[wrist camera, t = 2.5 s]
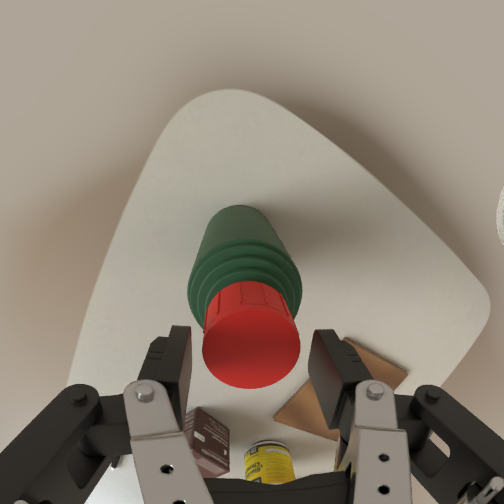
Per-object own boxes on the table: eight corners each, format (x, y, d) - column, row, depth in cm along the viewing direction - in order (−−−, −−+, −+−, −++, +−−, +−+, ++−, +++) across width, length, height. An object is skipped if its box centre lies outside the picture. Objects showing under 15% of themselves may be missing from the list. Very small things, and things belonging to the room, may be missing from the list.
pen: (139, 403, 35) (137, 409, 34) (115, 469, 39) (113, 474, 38) (132, 401, 35) (130, 407, 34) (110, 467, 39) (108, 472, 38)
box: (230, 429, 37) (231, 472, 30) (198, 446, 38) (195, 486, 31) (197, 405, 35) (193, 449, 28) (165, 424, 36) (157, 465, 29)
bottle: (229, 191, 29) (225, 239, 11) (286, 229, 30) (357, 320, 13) (192, 249, 30) (147, 362, 13) (248, 283, 31) (269, 418, 14)
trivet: (344, 337, 34) (347, 340, 33) (406, 371, 36) (408, 374, 36) (272, 416, 37) (273, 420, 36) (338, 438, 39) (340, 442, 38)
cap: (235, 264, 14) (236, 290, 11) (304, 306, 15) (320, 337, 12) (191, 329, 15) (184, 364, 12) (258, 363, 16) (264, 401, 13)
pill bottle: (263, 433, 37) (272, 503, 26) (298, 447, 39) (313, 511, 28) (234, 455, 39) (237, 521, 27) (269, 468, 40) (277, 529, 29)
